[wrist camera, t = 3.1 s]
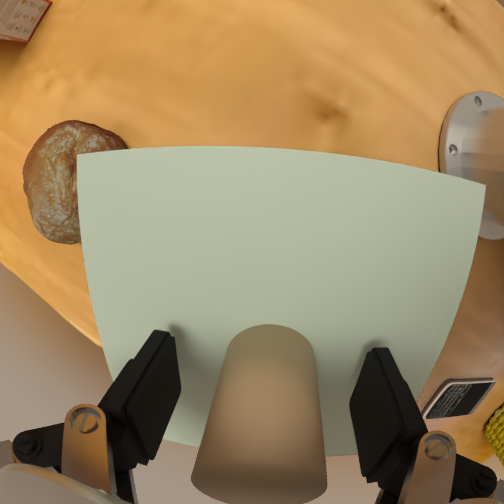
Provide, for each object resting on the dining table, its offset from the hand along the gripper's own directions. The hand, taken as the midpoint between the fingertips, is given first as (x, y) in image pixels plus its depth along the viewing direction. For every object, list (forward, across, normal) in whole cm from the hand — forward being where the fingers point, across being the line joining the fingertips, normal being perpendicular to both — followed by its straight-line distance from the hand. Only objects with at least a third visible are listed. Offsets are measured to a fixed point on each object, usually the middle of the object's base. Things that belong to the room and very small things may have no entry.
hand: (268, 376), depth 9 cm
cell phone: (+12, -25, +16) cm, 32 cm away
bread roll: (+12, +16, -6) cm, 21 cm away
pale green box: (+11, 0, 0) cm, 11 cm away
